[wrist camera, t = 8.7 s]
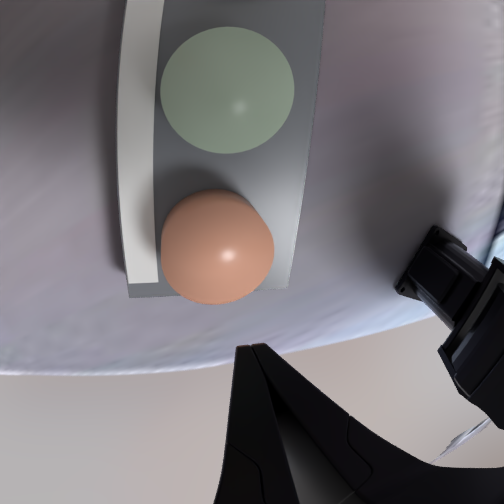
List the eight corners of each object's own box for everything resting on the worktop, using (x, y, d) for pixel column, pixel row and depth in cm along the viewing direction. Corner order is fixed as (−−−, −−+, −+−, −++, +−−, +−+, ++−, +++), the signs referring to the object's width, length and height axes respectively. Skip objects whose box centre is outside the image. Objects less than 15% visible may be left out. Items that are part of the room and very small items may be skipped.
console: (313, -58, 10) (330, -71, 8) (277, 270, 20) (288, 289, 18) (149, -78, 8) (148, -96, 6) (131, 277, 17) (129, 298, 16)
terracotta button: (267, 189, 15) (281, 203, 13) (257, 278, 17) (267, 300, 15) (159, 190, 13) (158, 205, 12) (163, 283, 16) (164, 307, 14)
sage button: (282, 43, 11) (300, 36, 10) (271, 147, 14) (287, 156, 12) (166, 34, 10) (166, 23, 8) (159, 145, 12) (157, 153, 11)
